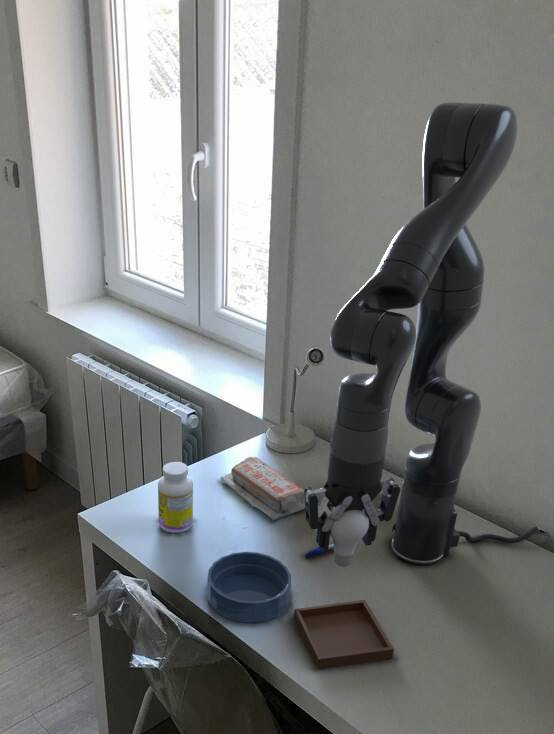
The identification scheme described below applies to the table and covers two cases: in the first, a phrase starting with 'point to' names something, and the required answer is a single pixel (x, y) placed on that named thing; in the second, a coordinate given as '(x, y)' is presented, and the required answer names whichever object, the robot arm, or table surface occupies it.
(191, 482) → the supplement bottle
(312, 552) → the ballpoint pen
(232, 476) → the packaged product
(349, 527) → the lightbulb
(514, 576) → the table surface
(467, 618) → the table surface
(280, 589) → the bowl
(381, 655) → the tray
